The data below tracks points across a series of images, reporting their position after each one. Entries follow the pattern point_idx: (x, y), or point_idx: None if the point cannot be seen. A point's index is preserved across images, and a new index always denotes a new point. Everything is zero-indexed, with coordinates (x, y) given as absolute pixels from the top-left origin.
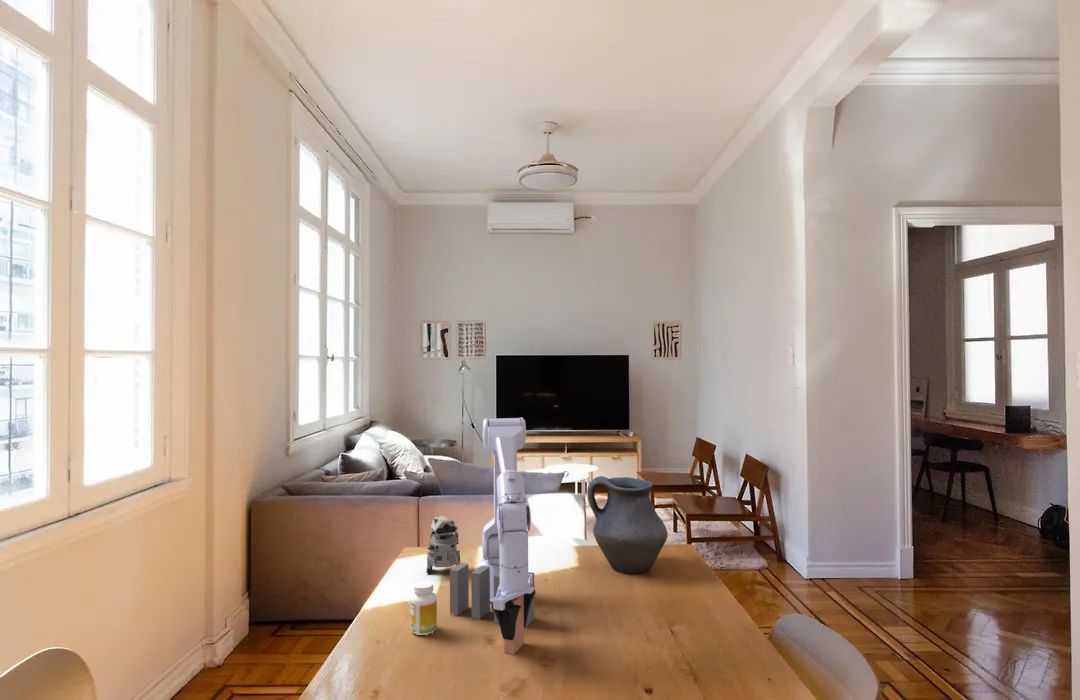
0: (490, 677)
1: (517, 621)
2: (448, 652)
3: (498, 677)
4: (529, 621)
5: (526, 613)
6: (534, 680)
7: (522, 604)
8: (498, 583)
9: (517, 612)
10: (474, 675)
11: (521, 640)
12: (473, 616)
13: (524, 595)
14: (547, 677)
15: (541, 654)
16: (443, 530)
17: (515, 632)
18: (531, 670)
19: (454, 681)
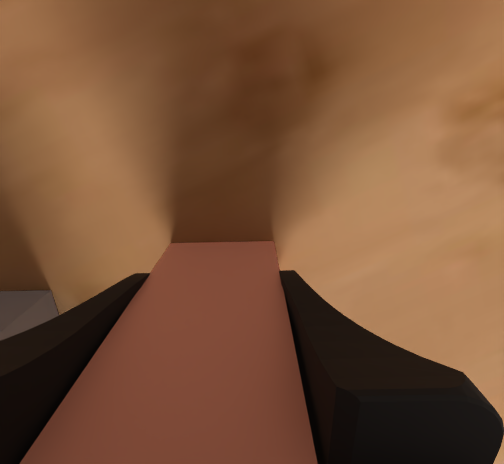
0: (460, 245)
1: (226, 315)
2: None
3: (456, 219)
4: (1, 296)
5: (106, 310)
6: (459, 63)
7: (102, 386)
8: None
9: (365, 359)
10: (455, 297)
11: (193, 252)
12: None
13: (7, 460)
14: (423, 8)
15: (226, 132)
16: None
17: (257, 283)
18: (376, 116)
19: (500, 332)
